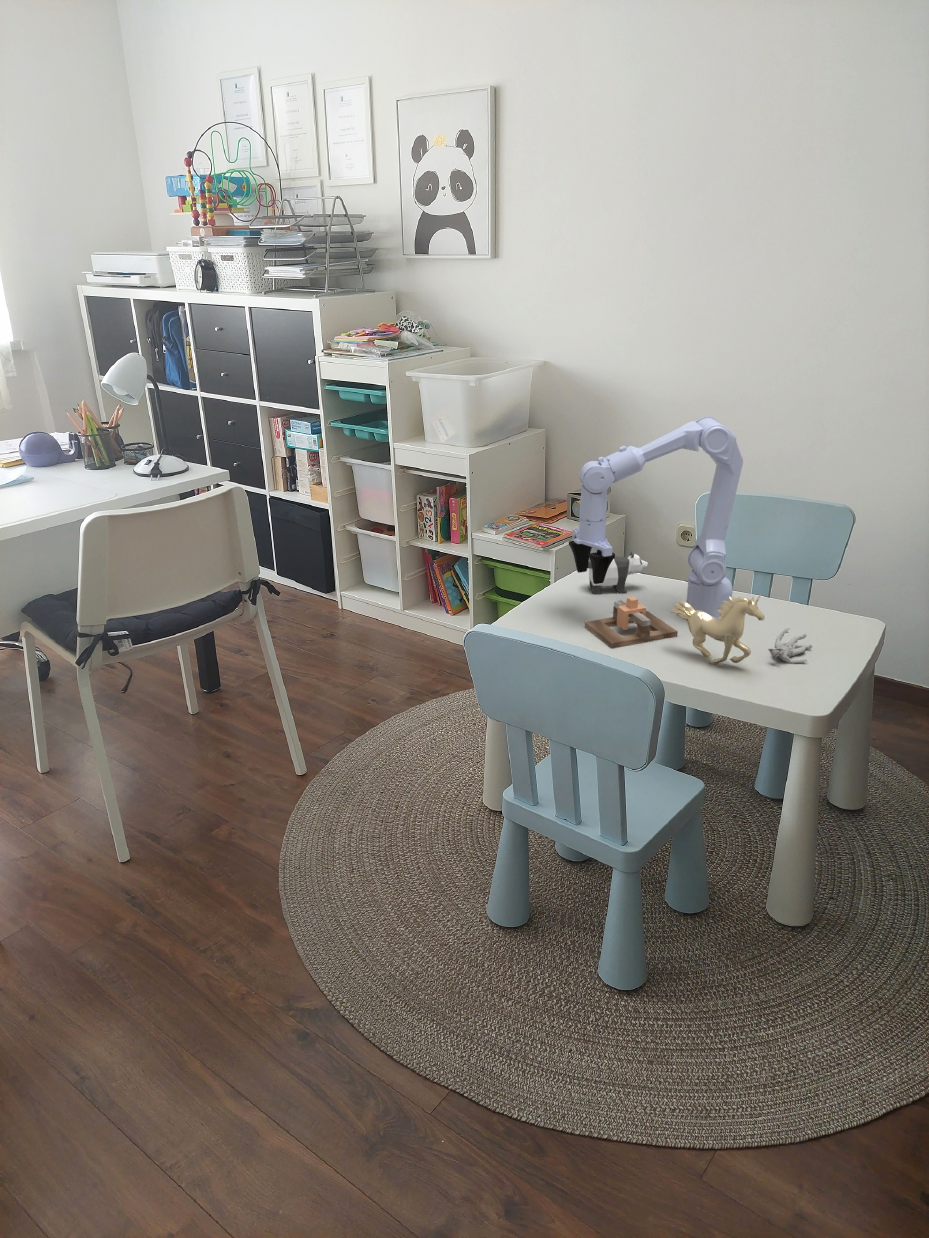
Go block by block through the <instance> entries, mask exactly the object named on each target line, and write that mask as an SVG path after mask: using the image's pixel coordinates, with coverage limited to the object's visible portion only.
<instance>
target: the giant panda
mask: <svg viewBox="0 0 929 1238" xmlns="http://www.w3.org/2000/svg"><path fill="white" fill-rule="evenodd" d="M647 567H649V562H648V561H645V560H643V559H641V557H640V556H639V555H638V554H636V553H633V551H630V553H629V556H628V557H625V556H616V555H615V558H614V559H613V561H612V562H611V564H610V566H609V568H608V570H607V573H606V576H605V579H604V582H603V583H599V584H594V582H593V573H592V565H591V561H590V560H589V563H588V579H589V589H590V590H592V594H593V595H602V594H603V590H601V587H602V586H613V588H614V589H616V593H617V594H627V593H628V590H626V582H627V578H628V576H629V575H634V574H638V573H640V572H641V571H642V570H645V569H646V568H647Z"/></svg>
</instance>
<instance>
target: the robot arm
mask: <svg viewBox="0 0 929 1238" xmlns="http://www.w3.org/2000/svg"><path fill="white" fill-rule="evenodd" d="M699 448H702V450H703V451H704V452H705V453H706V454H707V455H709V457H710V459H712V461H713V462H714V463H715V465H716V467H715V471H714V476H713V479H712V482H711V483H712V484H711V488H710V493H709V497H708V502H707V506H706V510H705V516H704V520H703V524H702V528H701V533H700V535H699V536H698V537H697V538H696V540H695V544H694V545H693V547H692V549H691V550H690V552H689V553H688V555H687V562H688V563H687V564H688V565H689V568H691V571H690V572H689V575H688V580H687V581H688V582H687V584H688V585H687V592H686V601H685V602H687V603H689V604H690V605H691V606H692V607H693V608H694V609H695V610H700V611H704V612H706V613H708V614H709V615H710V616H712V617H714V618H721V617H720V615H719V614H718V613H719V612H718V611H717V610H719V609H722V608H721V607H720V605H722V604H724V603H723V601H730V598H729V596H730V597H732V598H733V595H734V594H733V592H734V591H733V585H732V582H731V581H730V579H728V577H727V576H726V574H727V564H726V556H727V552H726V551H727V550H726V544H725V543H726V542H725V541H726V536H727V531H728V527H729V523H730V520H731V515H732V511H733V506H734V503H735V498H736V494H737V490H738V485H739V482H740V477H741V474H742V469H743V464H744V459H743V456H742V454H741V451H740V448H739V446H738V443H737V436H736V435H735V434H734V433H733V432H732V431H731V430H730V429H729V428H728V427H727V426H725V425H723V424H722V423H720V422H719V421H718V420H717V419H716V418H714V417H713V416H703V417H700V418H697V420H692V421H689V422H686V423H685V424H683V425H682V426H679V427H678V428H676V429H674V430H672V431H670V432H668V433H666V434H664V435H663V436H660V437H658V438H656V439H653V440H652V441H650V442H648V443H647V444H645V445H643V446H640V447H636V446H632V445H629V446H626V445H622V446H620V447H619V450H618V451H616V452H613V453H611V454H610V455H609V454H608V455H607V456H605V457H603V456H599V457H598V458H597V459H598V461H597V460H596V461H595V460H591V461H588V462H586V463H585V464H584V465H583V467H581V468H580V471H579V473H578V477H579V480H580V482H581V490H580V494H581V495H580V496H579V497H580V500H579V524H578V525H579V526H578V528H572V533H571V534H572V537H571V538H573V540H569V541H568V545H569V548H570V549H571V552H572V554H573V558H574V562H575V567H576V572H577V573H585V572H587V571H588V570H589V568H588V563H589V562H590V561H591V565H592V573H593V582H594V584H599V583H603V582H604V579H605V576H606V573H607V570H608V568H609V566H610V564H611V562H612V561H613V559H614V558H615V556H616V553H615V552H613V549H614V548H613V546H611V544H610V542H609V541H608V538H607V537H606V529H607V509H608V495H607V494H608V489H609V488H610V486H611V484H615V483H617V482H619V481H621V480H623V479H626V478H628V477H630V476H632V475H635V474H638V473H639V472H641V471H642V470H643V468H644V467H645V464H646V463H648V462H650V461H651V462H652V461H653V460H656V459H658V458H661V457H663V456H666V455H668V454H671V453H673V452H676V451H678V450H682V449H683V450H684V449H685V450H689V451H693V452H699ZM592 549H594V550H596V552H592Z"/></svg>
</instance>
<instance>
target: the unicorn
mask: <svg viewBox="0 0 929 1238" xmlns="http://www.w3.org/2000/svg"><path fill="white" fill-rule="evenodd" d="M761 594H762V593H760V594H759V595H758V597H757V598H756V600H755V598H754V596H752V597H751V599H750V598H747V597H744V596H738V597H733V596H732V597H730V596H729V598H730V601H723V603H724V604H722V605H720V607H721V608H722V609H719V610H717V611H718V612H719V613H718V614H719V615H720V617H721V618H714V617H712V616H710V615H709V614H708V613H706V612H704V611H700V610H695V609H694V608H693V607H692V606H691V605H690V604H689V603H687V602H686V601H684V600H683V601H682V600H680V601H679V602H678V603H675V604H674V608H673V609H672V610H670V613H672V614H673V613H676V614H675V615H676V616H677V617H681V618H683V619H685V620H687V625H688V629H689V632H690V634H691V636H692V638H693V639H692V646H693V647H694V648H695V649H697V650H698V651H699V652H700V653H701V655H702V656H703V657H704V658H706V659H709V658H711V657H712V656H711V652H710V651H709V650H708V649H707V648H706V647H705V646H704V645H703V643H705V642H706V640H707V639H706V638H707V636H708V637H710V638H711V639H713V640H715V641H717V642H722V643H724V650H723V655H722V657H719V658H713V659H711V660H709V662H708V663H709V664H711V665H718V664H719V663H723V662H726V661H727V659H728V658H729V655H730V653H731V650H732V647H733V646H734V647H736V648H737V649H739V650H740V651H742V652H743V655H740V656H737V655H736V656H733V657H730V658H729V661H731V662H732V663H734V664H737V663H740V662H742V661H744V659H746V658H747V657H749V656H750V655H751V654H752V653H751V652H752V650H751V648H750V646H748V645H746V644H744V643H743V642H741V641H740V639H741V638H742V636H743V634H744V628H745V617H746V615H748V616H751V617H754V618H756V619H757V620H758V621H764V620H765V617H766V616H765V613H763V611H761V609H759V605H758V602H759V600H760V598H761Z"/></svg>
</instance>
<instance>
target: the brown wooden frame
mask: <svg viewBox="0 0 929 1238" xmlns="http://www.w3.org/2000/svg"><path fill="white" fill-rule="evenodd" d="M623 605H626V602H625V601H623V600H621V599H620V600H615V601H613V609H612V610H613V611H612V616H611V617H606V618H602V619H600V618H599V619H596V620H589V621H585V622H584V628H586V630H588V631H589V632H590V633H591V634H593V635H594V634H595V635H594V636H595V637H597V638H598V639H599V640H600V641H602V642H603V641H604V642H603V643H604V644H606V645H607V646H608V647H609V646H610V647H609V648H611V649H616V648H622V647H626V646H633V645H637V644H643V643H644V644H645V643H649V642H654V640H655V641H659V640H665V638H666V639H669V638H670V639H671V638H676V637H678V634H679V633H678V632H679V631H678V630H677V629H675V628H673V627H672V626H671V625H670V624H668V623H666V622H665V621H663V620H662V619H661V618H659V617H658V616H655V615H654V614H653V613H651V612H650V611H648V610H646V615H645V616H644V615H642V614H641V613H639V612H638V613H633V614H629V618H628V624H633V623H635V622H637V624H636V634H630V635H626V636H625V635H624V636H622V635H620V634H619V633H618V632H616V631H615V630H614V629H612V628H611V627H616V626H618V625H617V611H618V606H623ZM633 621H635V622H633ZM648 641H649V642H648Z"/></svg>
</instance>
